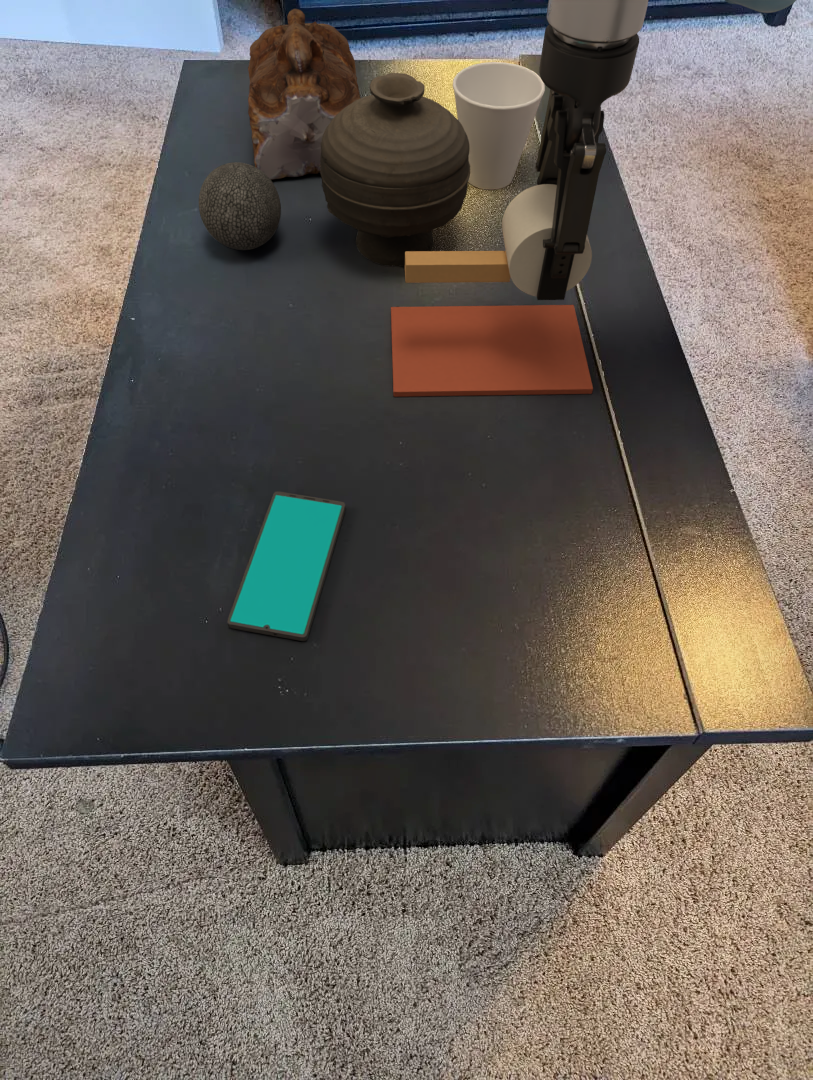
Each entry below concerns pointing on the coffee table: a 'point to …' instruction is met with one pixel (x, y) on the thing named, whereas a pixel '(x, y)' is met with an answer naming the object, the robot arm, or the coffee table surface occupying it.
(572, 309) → the mat
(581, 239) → the robot arm
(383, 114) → the pot
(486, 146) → the cup
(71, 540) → the coffee table surface
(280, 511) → the smartphone
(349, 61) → the sculpture
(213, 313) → the coffee table surface
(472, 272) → the mallet
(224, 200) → the decorative ball
